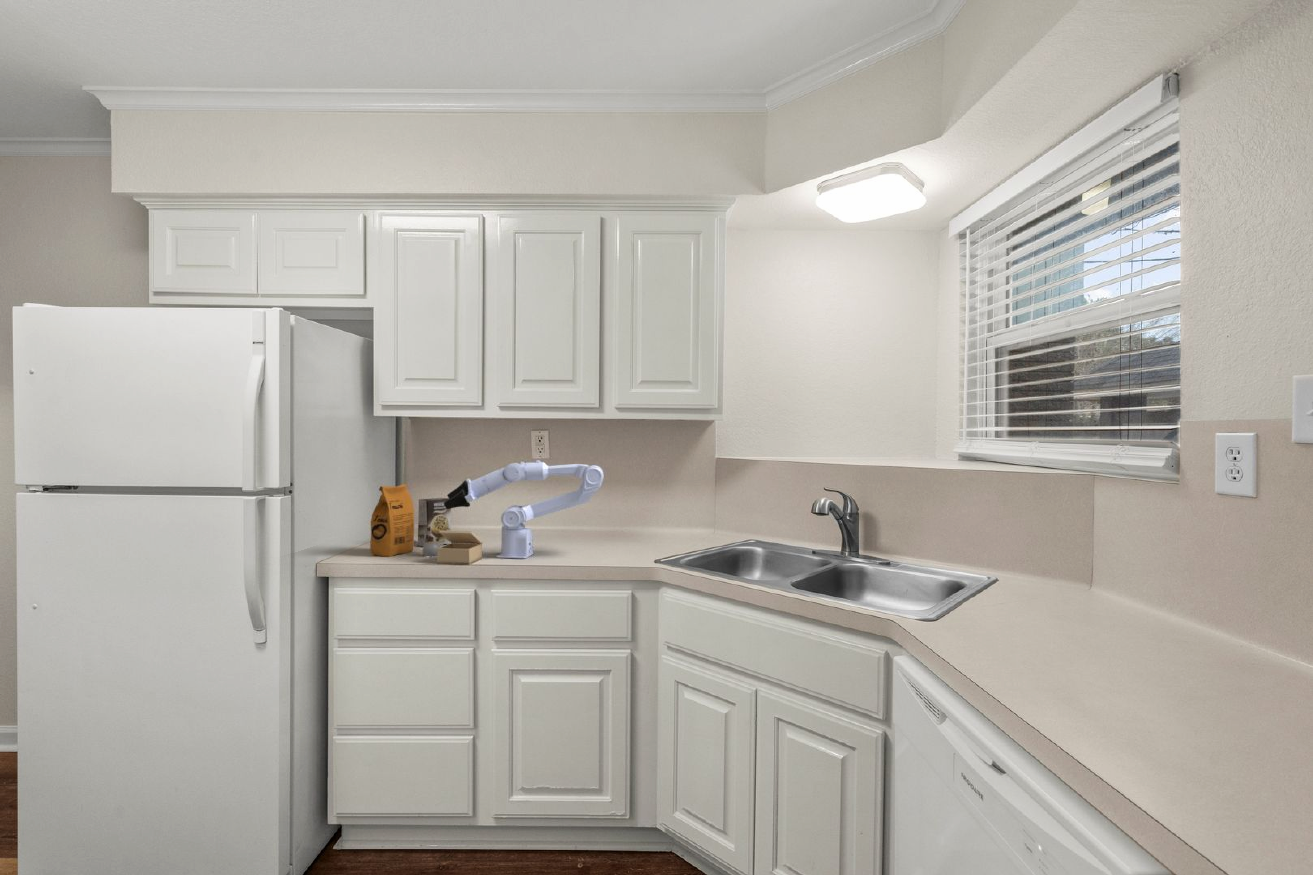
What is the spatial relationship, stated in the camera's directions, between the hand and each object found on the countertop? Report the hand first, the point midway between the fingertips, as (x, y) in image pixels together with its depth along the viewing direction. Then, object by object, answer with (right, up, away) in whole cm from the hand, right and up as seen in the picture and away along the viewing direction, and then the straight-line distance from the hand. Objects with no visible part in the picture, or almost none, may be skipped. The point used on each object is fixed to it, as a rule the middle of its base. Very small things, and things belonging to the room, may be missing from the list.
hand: (447, 501), depth 189 cm
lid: (+6, -11, -6) cm, 14 cm away
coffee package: (-20, -17, +5) cm, 27 cm away
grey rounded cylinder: (-6, -17, +2) cm, 18 cm away
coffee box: (-12, -17, +20) cm, 29 cm away
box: (+6, -17, -6) cm, 19 cm away
